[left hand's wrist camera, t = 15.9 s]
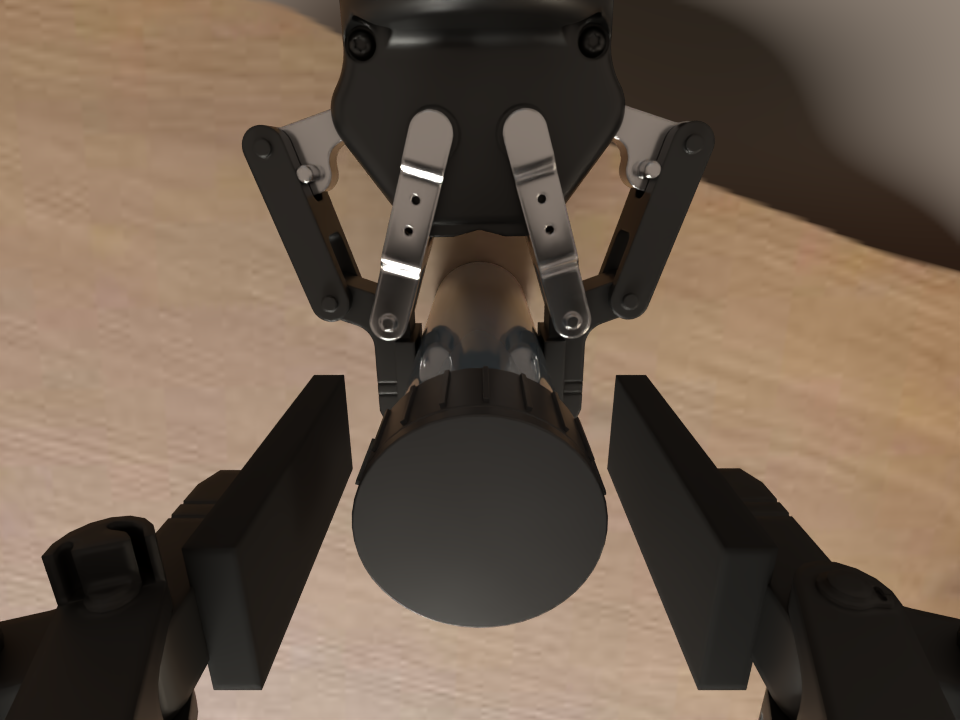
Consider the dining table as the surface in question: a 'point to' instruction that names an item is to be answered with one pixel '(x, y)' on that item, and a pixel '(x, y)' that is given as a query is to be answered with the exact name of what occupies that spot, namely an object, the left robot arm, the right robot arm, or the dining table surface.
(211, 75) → the dining table surface
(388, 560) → the lid
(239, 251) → the dining table surface
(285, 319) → the dining table surface
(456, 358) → the bottle
